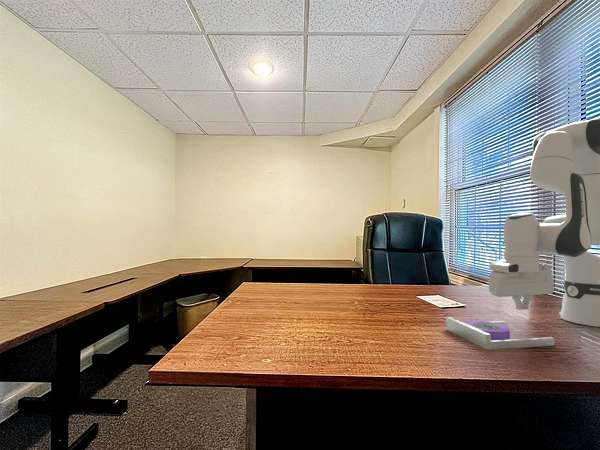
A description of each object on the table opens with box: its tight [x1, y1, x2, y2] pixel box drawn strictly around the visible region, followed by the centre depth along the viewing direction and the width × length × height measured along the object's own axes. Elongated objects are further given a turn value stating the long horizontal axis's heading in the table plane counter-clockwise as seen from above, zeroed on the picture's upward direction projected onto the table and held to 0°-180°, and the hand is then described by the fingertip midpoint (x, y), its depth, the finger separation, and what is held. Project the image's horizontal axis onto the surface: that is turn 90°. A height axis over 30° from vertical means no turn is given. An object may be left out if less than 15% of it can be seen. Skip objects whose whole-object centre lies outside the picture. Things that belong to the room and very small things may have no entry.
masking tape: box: [464, 320, 511, 340], centre depth 92 cm, size 12×12×4 cm
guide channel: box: [445, 316, 556, 350], centre depth 93 cm, size 22×17×4 cm
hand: (522, 309), depth 95 cm, fingers closed
